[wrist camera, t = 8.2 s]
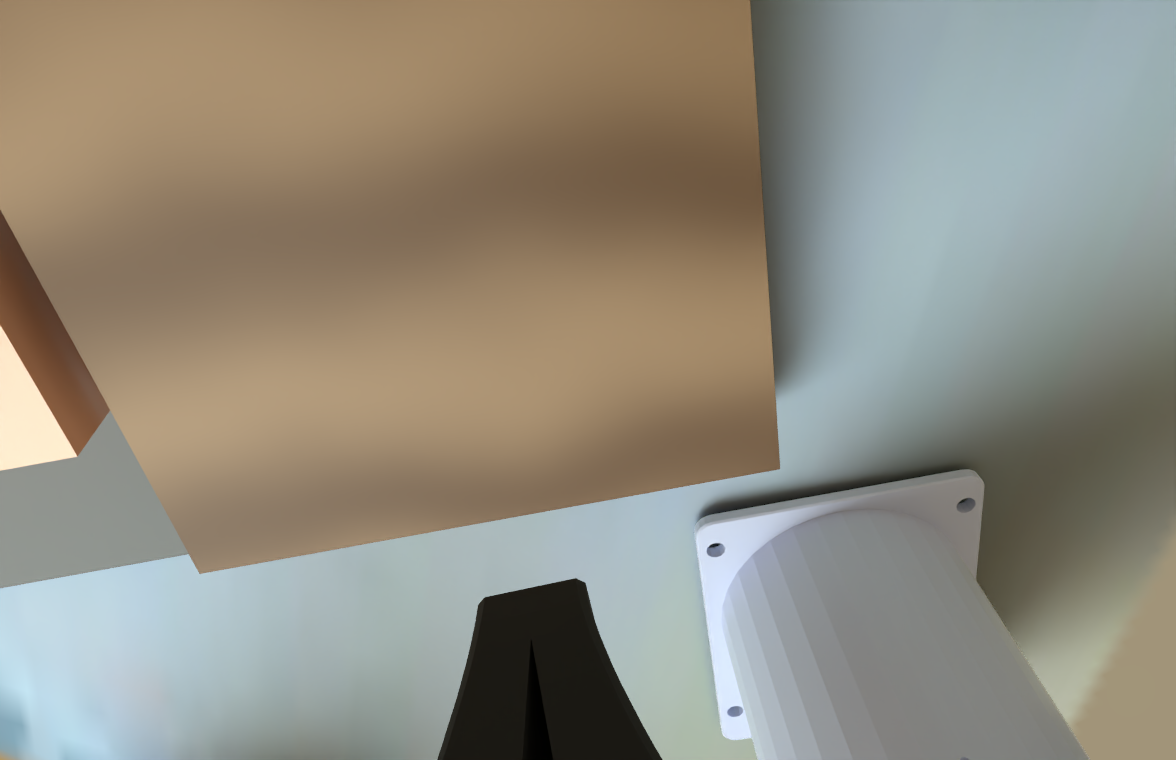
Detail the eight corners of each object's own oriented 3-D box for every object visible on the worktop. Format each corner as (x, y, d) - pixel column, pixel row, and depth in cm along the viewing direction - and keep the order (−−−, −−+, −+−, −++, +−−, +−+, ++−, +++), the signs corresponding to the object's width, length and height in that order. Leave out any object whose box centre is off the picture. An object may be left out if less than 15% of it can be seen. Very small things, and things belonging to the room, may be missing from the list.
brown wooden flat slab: (754, 410, 23) (780, 468, 21) (228, 506, 23) (199, 573, 21) (703, -240, 15) (733, -254, 13) (-67, -88, 16) (-158, -78, 14)
